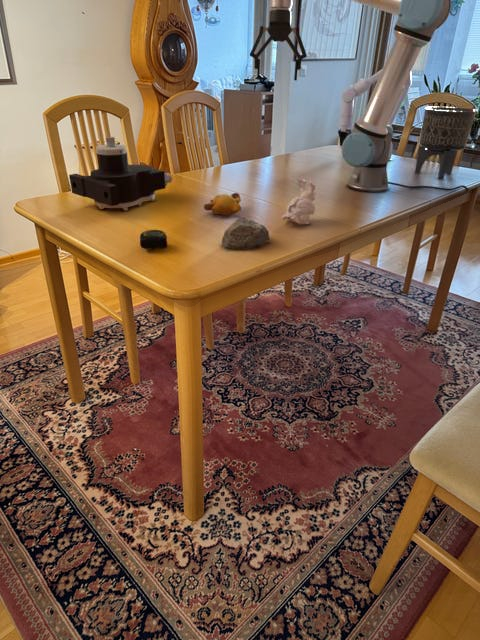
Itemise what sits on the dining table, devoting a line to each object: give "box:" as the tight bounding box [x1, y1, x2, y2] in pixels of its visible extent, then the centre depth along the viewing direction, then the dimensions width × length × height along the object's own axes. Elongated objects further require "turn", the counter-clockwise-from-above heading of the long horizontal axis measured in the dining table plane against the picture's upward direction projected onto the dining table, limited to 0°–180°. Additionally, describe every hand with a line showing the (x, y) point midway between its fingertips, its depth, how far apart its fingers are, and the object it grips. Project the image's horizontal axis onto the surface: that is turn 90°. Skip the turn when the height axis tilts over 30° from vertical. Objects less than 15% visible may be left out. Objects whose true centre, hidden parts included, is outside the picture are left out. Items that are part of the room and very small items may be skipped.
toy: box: [203, 192, 242, 216], centre depth 145 cm, size 11×6×15 cm
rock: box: [221, 216, 270, 250], centre depth 119 cm, size 13×9×6 cm, turn 131°
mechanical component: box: [68, 136, 173, 211], centre depth 148 cm, size 22×21×30 cm
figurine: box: [281, 177, 316, 225], centre depth 135 cm, size 8×15×13 cm, turn 145°
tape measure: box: [139, 229, 168, 250], centre depth 117 cm, size 7×7×4 cm
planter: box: [414, 106, 477, 180], centre depth 193 cm, size 20×20×26 cm
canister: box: [337, 138, 342, 150], centre depth 230 cm, size 5×5×5 cm
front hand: (276, 80), depth 166 cm, fingers open, 13 cm apart
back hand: (342, 145), depth 230 cm, fingers closed on canister, 5 cm apart
